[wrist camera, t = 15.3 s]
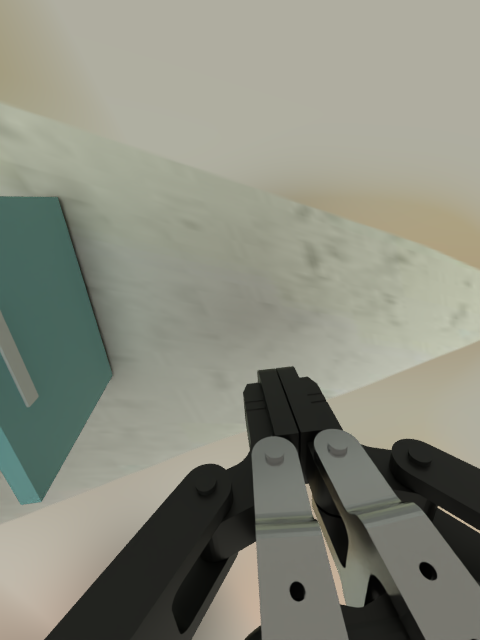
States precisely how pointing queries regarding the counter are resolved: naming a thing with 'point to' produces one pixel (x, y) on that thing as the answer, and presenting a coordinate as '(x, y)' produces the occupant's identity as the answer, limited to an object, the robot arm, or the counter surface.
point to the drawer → (43, 346)
